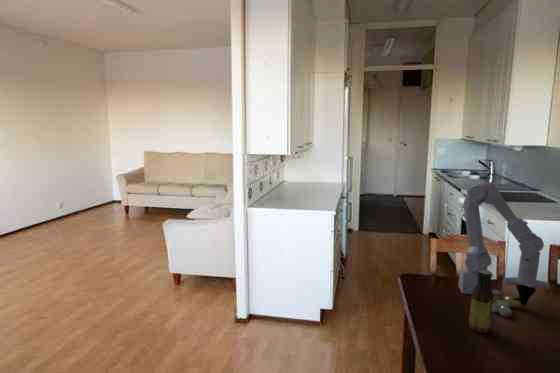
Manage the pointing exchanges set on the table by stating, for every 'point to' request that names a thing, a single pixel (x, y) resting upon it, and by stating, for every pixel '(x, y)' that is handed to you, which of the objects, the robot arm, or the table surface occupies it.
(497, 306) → the valve body
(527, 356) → the table surface
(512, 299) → the coupling
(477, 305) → the sauce bottle
